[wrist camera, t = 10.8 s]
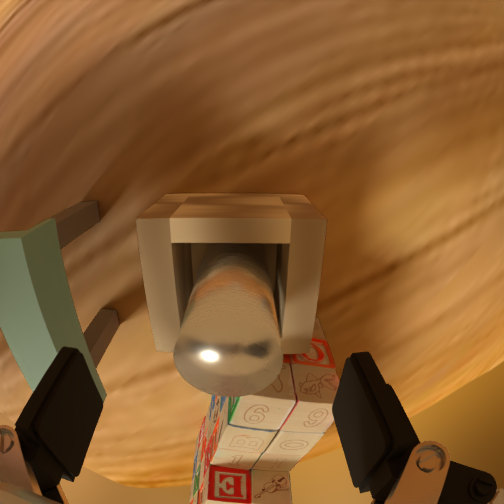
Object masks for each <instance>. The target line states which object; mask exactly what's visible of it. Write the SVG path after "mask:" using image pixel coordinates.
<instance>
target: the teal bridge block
mask: <svg viewBox="0 0 504 504" xmlns="http://www.w3.org/2000/svg"><path fill="white" fill-rule="evenodd" d="M99 221H100V216H99V207H98V201H85V202H79V203H77V204H75V205H74V206H72V207H70V208H68V209H66V210H64V211H62V212H60V213H58V214H56V215H54V216H52V217H51V218H49V219H46V220H45V221H43V222H41V223H39V224H37V225H36V226H34V227H32V228H30V229H29V230H27V231H7V232H0V327H1V330H2V332H3V334H4V337H5V339H6V341H7V343H8V345H9V348H10V350H11V352H12V354H13V356H14V358H15V360H16V362H17V364H18V366H19V368H20V369H21V371H22V373H23V375H24V377H25V379H26V380H27V382H28V384H29V386H30V387H31V389H32V391H33V392H34V390H35V389H36V387H37V385H38V384H39V382H40V380H41V379H42V377H43V376H44V374H45V372H46V371H47V369H48V368H49V366H50V365H51V363H52V362H53V360H54V358H55V357H56V355H57V354H58V352H59V351H60V349H61V348H62V347H64V346H66V347H72V348H77V349H78V350H79V351H80V353H82V354H83V355H84V358H85V360H86V363H87V366H88V368H89V370H90V373H91V375H92V378H93V380H94V382H95V385H96V387H97V389H98V391H99V394H100V396H101V398H102V400H103V403H104V400H105V398H106V396H107V394H106V392H105V389H104V387H103V385H102V382H101V380H100V378H99V375H98V373H97V370H96V368H97V366H98V364H99V362H100V360H101V358H102V356H103V355H104V353H105V351H106V349H107V347H108V345H109V343H110V342H111V340H112V338H113V336H114V334H115V333H116V331H117V329H118V327H119V326H120V323H119V319H118V315H117V311H116V310H111V309H100V310H99V312H98V313H97V315H96V316H95V318H94V319H93V320H92V322H91V323H90V325H89V326H88V328H87V329H86V331H85V332H84V334H83V332H82V329H81V326H80V323H79V320H78V317H77V313H76V310H75V307H74V303H73V300H72V296H71V292H70V289H69V285H68V281H67V277H66V273H65V268H64V264H63V259H62V255H61V250H60V249H62V248H63V247H64V246H66V245H67V244H68V243H70V242H71V241H72V240H74V239H75V238H77V237H78V236H79V235H81V234H82V233H84V232H85V231H86V230H88V229H89V228H91V227H92V226H93V225H95V224H96V223H98V222H99Z"/></svg>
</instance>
